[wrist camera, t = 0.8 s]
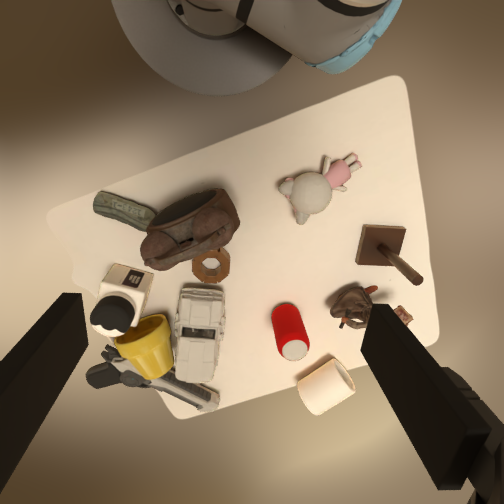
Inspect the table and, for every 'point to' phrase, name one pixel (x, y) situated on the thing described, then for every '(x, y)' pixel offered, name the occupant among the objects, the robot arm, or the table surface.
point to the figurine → (360, 308)
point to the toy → (318, 187)
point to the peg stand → (385, 250)
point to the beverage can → (290, 332)
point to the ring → (212, 274)
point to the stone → (123, 210)
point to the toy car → (198, 334)
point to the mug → (325, 387)
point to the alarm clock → (189, 229)
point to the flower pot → (148, 346)
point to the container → (120, 300)
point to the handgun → (149, 381)
